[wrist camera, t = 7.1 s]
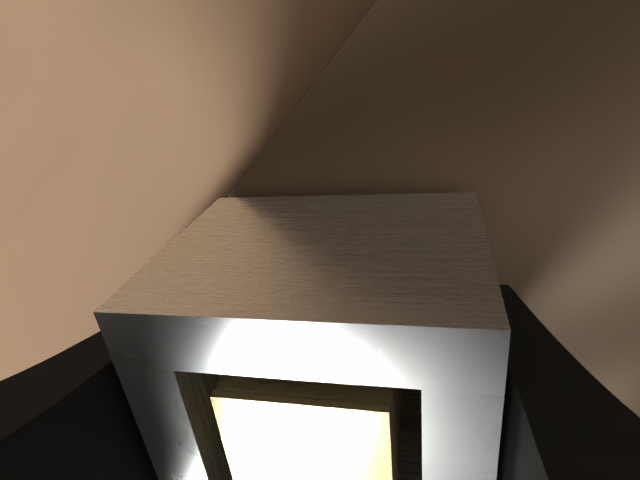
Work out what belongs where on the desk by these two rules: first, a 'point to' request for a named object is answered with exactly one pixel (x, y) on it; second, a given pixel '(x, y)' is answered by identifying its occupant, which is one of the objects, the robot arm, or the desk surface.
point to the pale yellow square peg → (308, 429)
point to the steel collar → (319, 323)
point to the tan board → (496, 148)
